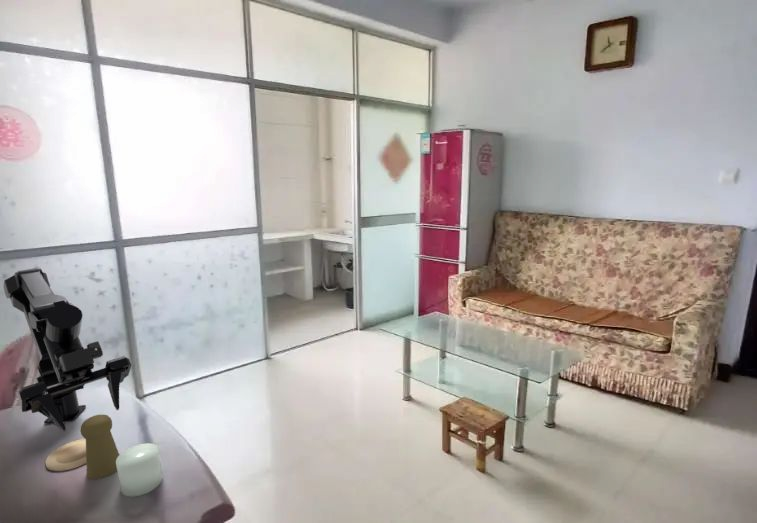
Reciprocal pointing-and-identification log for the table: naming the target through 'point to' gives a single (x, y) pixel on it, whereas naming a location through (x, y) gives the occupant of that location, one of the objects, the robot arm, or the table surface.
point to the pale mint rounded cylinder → (139, 469)
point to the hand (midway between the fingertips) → (92, 419)
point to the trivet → (68, 456)
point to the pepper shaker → (99, 446)
